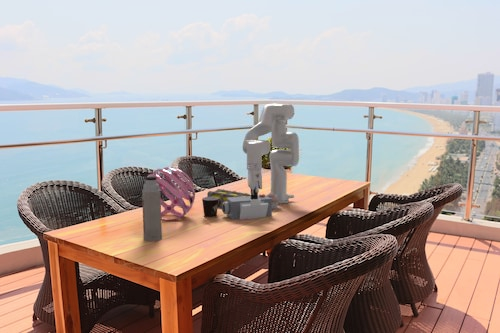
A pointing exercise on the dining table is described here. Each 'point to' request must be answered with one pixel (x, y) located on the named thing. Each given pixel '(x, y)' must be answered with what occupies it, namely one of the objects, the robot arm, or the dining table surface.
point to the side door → (254, 210)
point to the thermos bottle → (151, 210)
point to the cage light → (225, 195)
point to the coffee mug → (210, 206)
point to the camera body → (234, 204)
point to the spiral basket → (175, 191)
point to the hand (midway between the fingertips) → (254, 201)
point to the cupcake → (273, 200)
